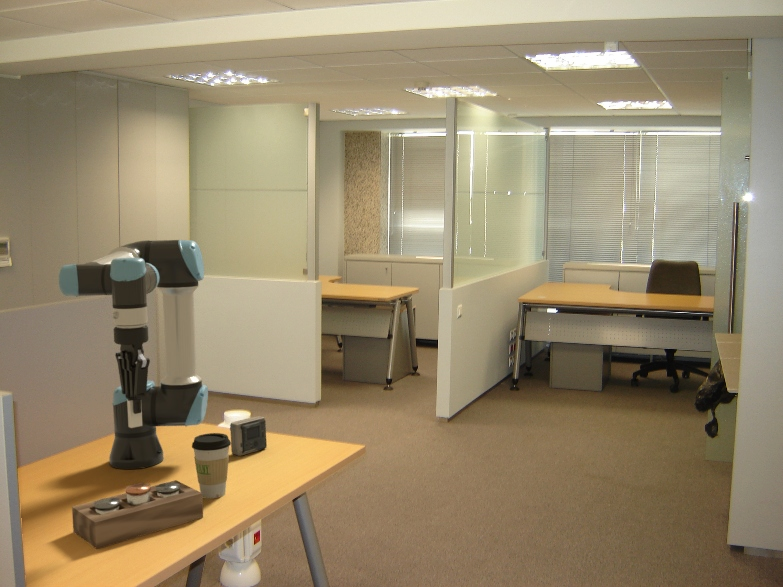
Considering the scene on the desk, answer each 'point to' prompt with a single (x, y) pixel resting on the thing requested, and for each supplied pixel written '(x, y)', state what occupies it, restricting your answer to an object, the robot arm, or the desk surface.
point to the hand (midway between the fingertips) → (135, 426)
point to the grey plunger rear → (167, 489)
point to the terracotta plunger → (138, 494)
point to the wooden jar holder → (136, 516)
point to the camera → (248, 435)
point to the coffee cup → (212, 463)
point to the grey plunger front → (106, 505)
